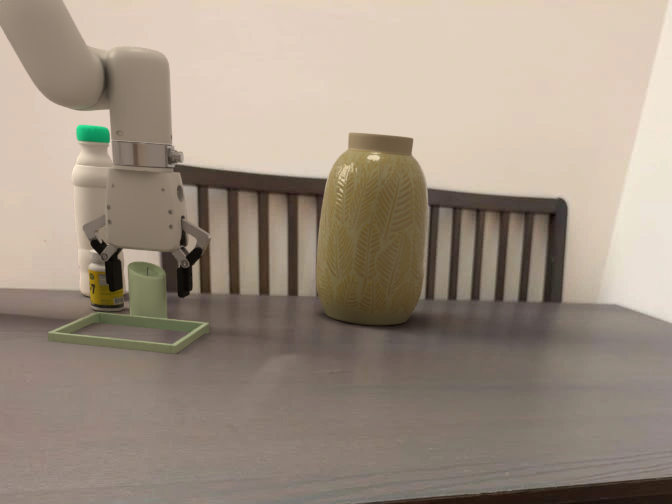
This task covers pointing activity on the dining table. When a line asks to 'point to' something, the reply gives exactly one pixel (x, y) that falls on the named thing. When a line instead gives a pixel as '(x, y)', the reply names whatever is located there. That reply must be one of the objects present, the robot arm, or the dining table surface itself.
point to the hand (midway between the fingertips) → (150, 293)
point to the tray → (130, 320)
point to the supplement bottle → (102, 287)
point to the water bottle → (91, 193)
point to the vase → (373, 232)
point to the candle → (147, 290)
